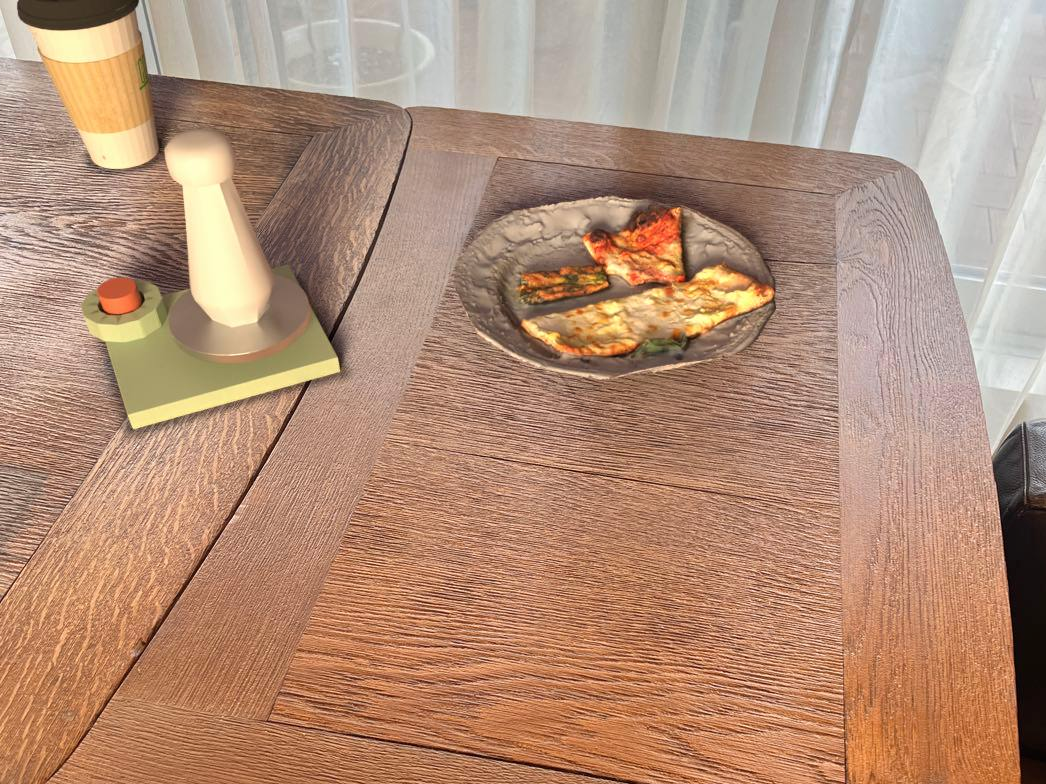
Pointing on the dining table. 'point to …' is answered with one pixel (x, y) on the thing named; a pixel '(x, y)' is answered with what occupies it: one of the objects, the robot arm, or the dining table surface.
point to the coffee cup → (98, 74)
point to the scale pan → (241, 327)
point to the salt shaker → (218, 230)
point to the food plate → (614, 287)
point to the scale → (193, 360)
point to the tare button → (119, 296)
